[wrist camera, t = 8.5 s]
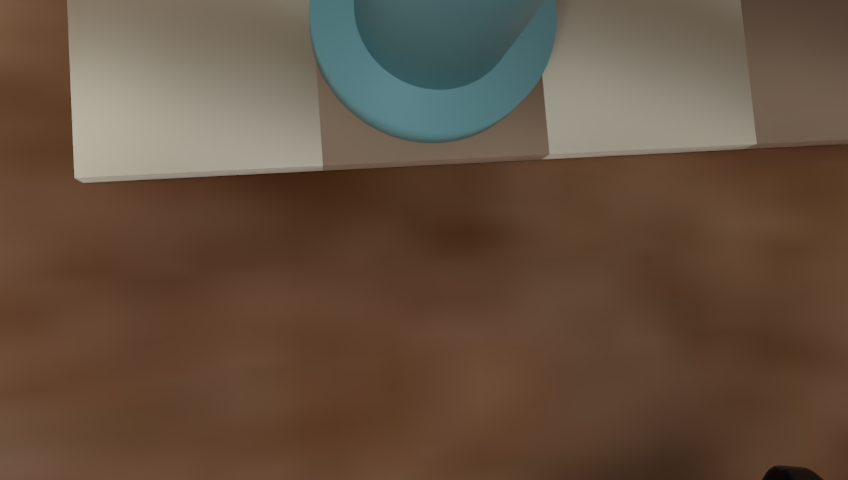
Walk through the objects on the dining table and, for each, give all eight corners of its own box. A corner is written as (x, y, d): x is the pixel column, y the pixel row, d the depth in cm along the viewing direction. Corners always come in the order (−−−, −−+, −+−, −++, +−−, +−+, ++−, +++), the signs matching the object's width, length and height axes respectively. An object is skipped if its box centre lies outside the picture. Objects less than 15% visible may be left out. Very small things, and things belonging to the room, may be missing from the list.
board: (927, 139, 19) (947, 134, 19) (82, 182, 16) (74, 178, 16) (897, -91, 20) (915, -104, 19) (71, -91, 17) (62, -106, 16)
